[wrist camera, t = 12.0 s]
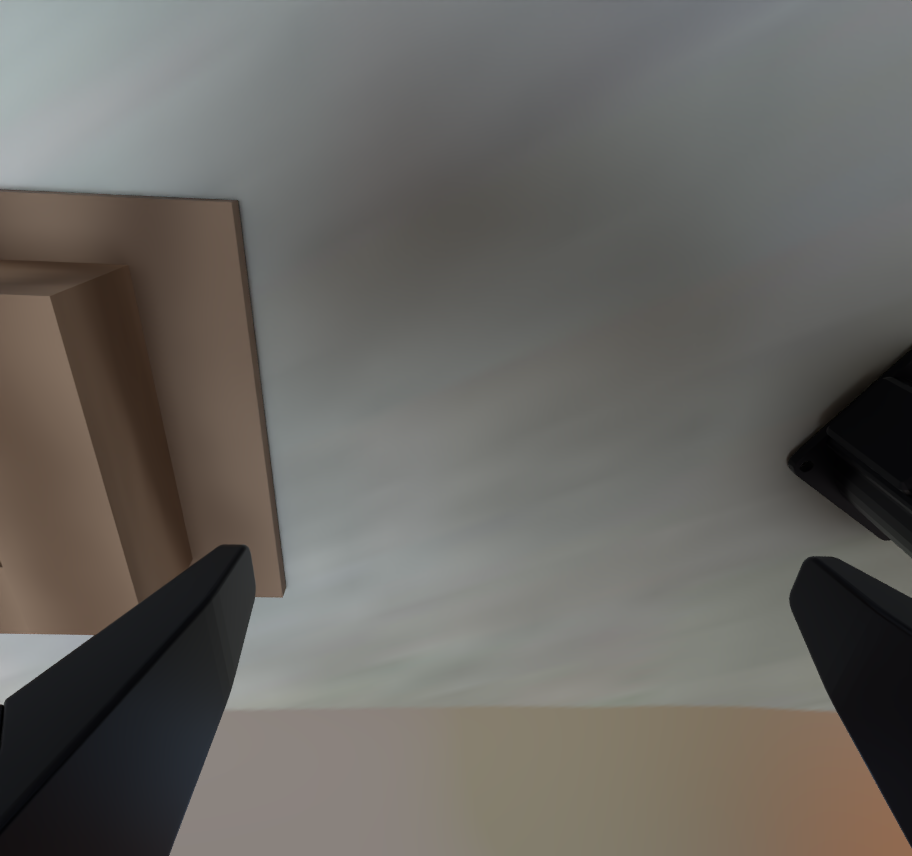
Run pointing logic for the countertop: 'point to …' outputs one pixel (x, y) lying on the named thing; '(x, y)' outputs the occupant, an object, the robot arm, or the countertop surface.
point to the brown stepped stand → (125, 405)
